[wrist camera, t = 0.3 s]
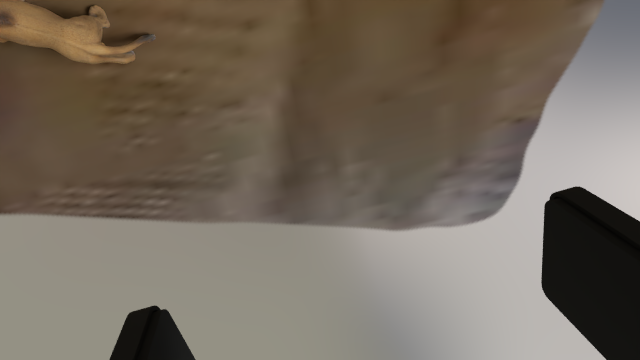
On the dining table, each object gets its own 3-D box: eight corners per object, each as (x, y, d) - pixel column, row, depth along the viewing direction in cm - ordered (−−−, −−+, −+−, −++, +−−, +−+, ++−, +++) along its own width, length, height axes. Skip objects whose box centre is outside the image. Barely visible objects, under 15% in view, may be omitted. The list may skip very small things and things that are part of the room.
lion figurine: (-26, 49, 33) (-119, 66, 25) (-43, -22, 30) (-151, -28, 22) (158, 65, 35) (129, 85, 27) (155, 1, 33) (121, 2, 25)
